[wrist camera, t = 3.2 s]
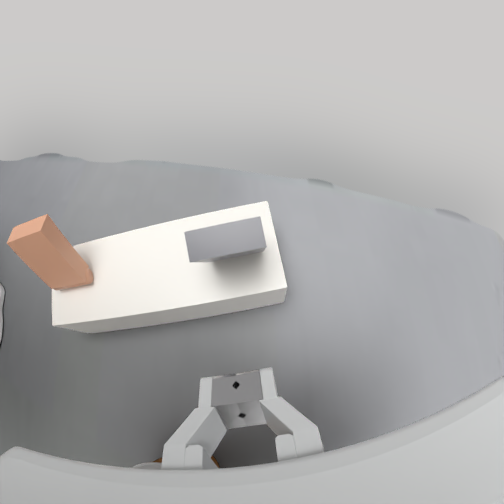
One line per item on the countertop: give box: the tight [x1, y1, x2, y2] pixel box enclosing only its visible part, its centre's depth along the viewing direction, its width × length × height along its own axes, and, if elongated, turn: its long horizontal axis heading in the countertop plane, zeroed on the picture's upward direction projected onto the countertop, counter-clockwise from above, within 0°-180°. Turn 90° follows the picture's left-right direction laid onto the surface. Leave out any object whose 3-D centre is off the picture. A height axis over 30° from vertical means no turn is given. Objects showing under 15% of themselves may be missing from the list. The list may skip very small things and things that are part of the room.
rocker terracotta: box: [7, 214, 93, 290], centre depth 24 cm, size 2×5×9 cm, turn 100°
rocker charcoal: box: [184, 216, 267, 262], centre depth 23 cm, size 2×5×9 cm, turn 100°
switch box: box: [52, 201, 287, 334], centre depth 32 cm, size 9×26×8 cm, turn 100°
